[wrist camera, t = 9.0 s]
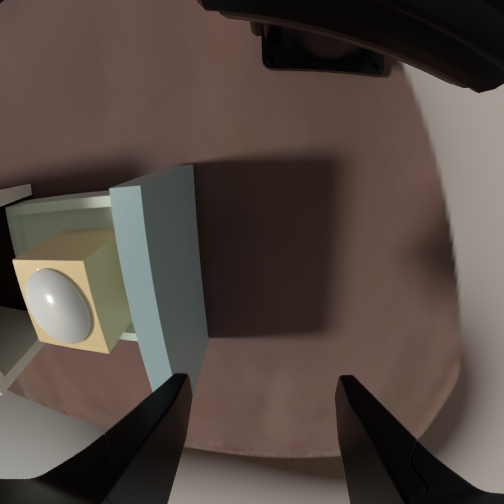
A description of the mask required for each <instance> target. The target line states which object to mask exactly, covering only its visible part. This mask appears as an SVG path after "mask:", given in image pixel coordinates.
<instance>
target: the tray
mask: <svg viewBox="0 0 504 504" xmlns="http://www.w3.org/2000/svg"><path fill="white" fill-rule="evenodd" d="M5 209H6V215H7V220H8V225H9V230H10V235H11V240H12V244H13V248H14V253H15V257H18V256H19V255H21V254H22V253H24V252H26V251H27V250H29V249H31V248H32V247H34V246H36V245H37V244H39V243H41V242H42V241H44V240H46V239H48V238H49V237H51V236H53V235H55V234H56V233H58V232H60V231H62V230H72V229H92V228H114V230H115V236H116V242H117V248H118V254H119V260H120V265H121V270H122V276H123V281H124V285H125V290H126V295H127V299H128V304H129V308H130V312H131V317H132V321H131V322H130V324H129V325H128V327H127V328H126V330H125V331H124V332H123V334H122V335H121V337H120V338H119V339H123V340H132V341H138V344H139V348H140V351H141V355H142V358H143V362H144V365H145V368H146V372H147V375H148V378H149V382H150V385H151V388H152V391H153V392H154V391H155V390H156V389H157V388H158V387H159V386H161V385H162V384H163V383H164V382H165V381H166V380H167V379H169V378H170V377H171V376H172V375H173V374H175V373H186V374H188V375H189V378H190V383H191V388H192V398H193V394H194V391H195V387H196V383H197V380H198V376H199V373H200V369H201V366H202V363H203V359H204V356H205V352H206V349H207V345H208V342H209V339H208V330H207V322H206V313H205V304H204V295H203V285H202V275H201V265H200V254H199V243H198V230H197V217H196V203H195V188H194V171H193V165H177V166H170V167H167V168H164V169H161V170H158V171H155V172H152V173H149V174H147V175H144V176H141V177H138V178H135V179H133V180H130V181H127V182H124V183H122V184H119V185H116V186H114V187H111V188H109V190H106V191H96V192H87V193H78V194H69V195H61V196H53V197H45V198H38V199H31V200H24V201H21V202H18V203H16V204H13V205H11V206H8V207H6V208H5Z"/></svg>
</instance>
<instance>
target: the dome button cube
mask: <svg viewBox="0 0 504 504" xmlns="http://www.w3.org/2000/svg"><path fill="white" fill-rule="evenodd" d="M12 261H13V264H14V268H15V272H16V275H17V279H18V282H19V285H20V288H21V292H22V295H23V298H24V301H25V304H26V307H27V309H28V312H29V315H30V318H31V320H32V323H33V326H34V328H35V331H36V333H37V336H38V338H39V341H41V342H46V343H51V344H56V345H61V346H66V347H71V348H77V349H83V350H89V351H95V352H101V353H108V354H110V352H111V350H112V349H113V347H114V346H115V344H116V343H117V341H118V340H119V338H120V337H121V335H122V334H123V332H124V331H125V330H126V328H127V327H128V325H129V324H130V322H131V321H132V317H131V312H130V308H129V304H128V299H127V295H126V290H125V285H124V281H123V276H122V270H121V265H120V260H119V254H118V248H117V242H116V236H115V230H114V228H92V229H72V230H62V231H60V232H58V233H56V234H55V235H53V236H51V237H49V238H48V239H46V240H44V241H42V242H41V243H39V244H37V245H36V246H34V247H32V248H31V249H29V250H27V251H26V252H24V253H22V254H21V255H19V256H18V257H16V258H14V259H13V260H12Z"/></svg>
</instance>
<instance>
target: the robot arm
mask: <svg viewBox="0 0 504 504" xmlns="http://www.w3.org/2000/svg"><path fill="white" fill-rule="evenodd" d="M197 1H198V3H199V4H200V5H201V6H202V7H203V8H204V9H205V10H206V11H218V12H220V14H221V15H223V16H225V17H226V18H228V19H237V20H245V21H250V25H251V30H252V33H253V34H254V35H256V36H262V61H263V65H264V66H265V68H267V69H269V70H302V71H323V72H338V73H349V74H359V75H367V76H378V75H380V74H382V72H383V71H384V62H383V55H386V56H388V57H391V58H394V59H396V60H399V61H401V62H404V63H406V64H408V65H411V66H413V67H415V68H418V69H420V70H422V71H424V72H427V73H429V74H431V75H433V76H435V77H437V78H439V79H441V80H443V81H445V82H447V83H450V84H453V85H456V86H459V87H462V88H470V89H471V90H473V91H475V92H478V93H480V92H484V91H489V90H493V89H495V88H497V87H499V86H500V85H502V84H504V0H197ZM271 57H273V58H275V59H276V60H277V62H276V63H275V64H269V63H268V61H267V60H268V59H269V58H271ZM371 64H375V65H376V66H377V71H374V70H373V69H372V68H371ZM191 403H192V388H191V383H190V378H189V375H188V374H186V373H175V374H173V375H172V376H171V377H170V378H169V379H167V380H166V381H165V382H164V383H163V384H162V385H161V386H159V387H158V388H157V389H156V390H155V391H154V392H153V393H151V394H150V395H149V396H148V397H147V398H146V399H144V400H143V401H142V402H141V403H140V404H139V405H137V406H136V407H135V408H134V409H133V410H132V411H130V412H129V413H128V414H127V415H126V416H124V417H123V418H122V419H121V420H120V421H119V422H117V423H116V424H115V425H114V426H113V427H111V428H110V429H109V430H108V431H107V432H106V433H105V435H102V436H100V437H99V438H98V439H97V440H95V441H94V442H93V443H92V444H90V445H89V446H88V447H87V448H85V449H84V450H82V451H81V452H79V453H78V454H76V455H75V456H73V457H72V458H70V459H68V460H67V461H65V462H63V463H62V464H60V465H58V466H57V467H55V468H53V469H52V470H50V471H48V472H47V473H45V474H43V475H41V476H38V477H36V478H31V479H0V504H167V503H168V500H169V496H170V492H171V489H172V486H173V482H174V478H175V475H176V472H177V468H178V465H179V461H180V457H181V454H182V451H183V447H184V444H185V440H186V435H187V429H188V422H189V416H190V409H191ZM335 404H336V417H337V430H338V441H339V447H340V452H341V457H342V462H343V467H344V472H345V477H346V483H347V488H348V493H349V499H350V504H504V494H500V493H489V492H485V491H483V490H480V489H478V488H476V487H474V486H473V485H471V484H470V483H468V482H467V481H466V480H464V479H463V478H462V477H460V476H459V475H458V474H456V473H455V472H454V471H452V470H451V469H450V468H448V467H447V466H446V465H445V464H443V463H442V462H441V461H440V460H438V459H437V458H436V457H435V456H434V455H433V454H432V453H430V452H429V451H428V450H427V449H426V448H425V447H424V446H423V445H422V444H421V443H420V442H419V441H417V439H416V438H415V437H414V436H413V435H412V434H411V433H410V432H409V431H408V430H407V429H406V428H405V427H404V426H403V425H402V424H401V423H400V422H399V421H398V420H397V419H396V418H395V417H394V416H393V415H392V414H391V413H390V412H389V411H388V410H387V409H386V408H385V407H384V406H383V405H382V404H381V403H380V402H379V401H378V400H377V399H376V398H375V397H374V396H373V395H372V394H371V393H370V392H369V391H368V390H367V389H366V388H365V387H364V386H363V385H362V384H361V383H360V382H359V381H358V380H357V379H356V378H355V377H354V376H353V375H341V376H340V377H339V379H338V383H337V388H336V393H335Z"/></svg>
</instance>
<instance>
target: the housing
mask: <svg viewBox="0 0 504 504" xmlns="http://www.w3.org/2000/svg"><path fill="white" fill-rule="evenodd" d="M30 195H32V190H31V184H26V185H21V186H16V187H11V188H6V189H2V190H0V207H1V206H3V205H6V204H8V203H11V202H13V201H16V200H19V199H21V198H24V197H27V196H30ZM45 344H46V342H41V341H39V338H38V336H37V333H36V331H35V328H34V326H33V323H32V320H31V318H30V315H29V312H28V311H25V310H19V309H13V308H7V307H2V306H0V395H3V394H4V393H5V391H6V390H7V389H8V388H9V386H10V385H11V384H12V383H13V381H14V380H15V379H16V378H17V377H18V375H19V374H20V373H21V372H22V371H23V369H24V368H25V367H26V366H27V365H28V364H29V362H30V361H31V360H32V359H33V358H34V357H35V356H36V354H37V353H38V352H39V351H40V350H41V349H42V348H43V346H44V345H45Z"/></svg>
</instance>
